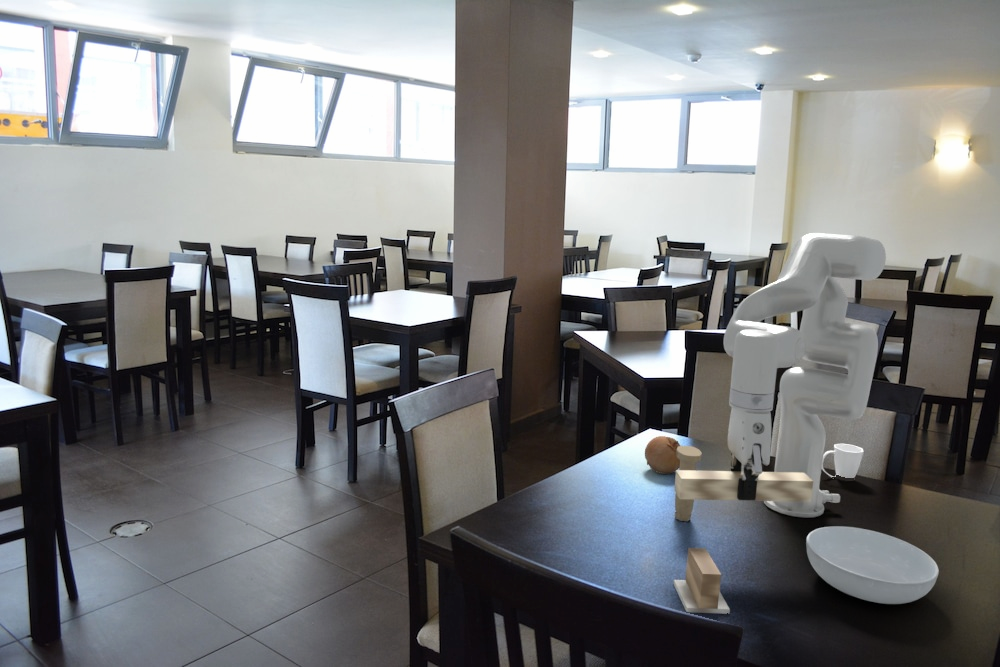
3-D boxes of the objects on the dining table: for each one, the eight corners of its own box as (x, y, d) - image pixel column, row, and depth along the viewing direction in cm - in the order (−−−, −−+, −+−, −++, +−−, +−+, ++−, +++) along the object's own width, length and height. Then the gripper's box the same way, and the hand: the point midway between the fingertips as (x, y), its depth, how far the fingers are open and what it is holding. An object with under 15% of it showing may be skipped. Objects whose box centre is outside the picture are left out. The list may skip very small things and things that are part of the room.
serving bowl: (873, 631, 118) (879, 591, 117) (776, 569, 137) (781, 534, 136) (961, 607, 126) (967, 570, 125) (858, 552, 145) (863, 519, 144)
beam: (802, 492, 139) (804, 472, 139) (810, 501, 136) (813, 481, 135) (674, 490, 139) (675, 470, 138) (679, 499, 135) (681, 478, 134)
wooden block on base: (713, 585, 130) (717, 549, 128) (729, 613, 121) (733, 575, 120) (673, 583, 130) (676, 547, 128) (686, 612, 121) (690, 573, 119)
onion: (676, 486, 183) (696, 456, 178) (643, 477, 181) (662, 447, 176) (666, 460, 191) (684, 431, 186) (633, 452, 189) (652, 422, 184)
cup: (865, 484, 182) (870, 453, 180) (825, 483, 181) (829, 451, 180) (851, 474, 189) (855, 443, 187) (812, 472, 188) (816, 442, 187)
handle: (690, 513, 160) (697, 446, 157) (697, 526, 154) (704, 456, 151) (668, 511, 160) (674, 445, 157) (674, 524, 154) (680, 455, 151)
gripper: (790, 413, 125) (779, 514, 129) (756, 386, 142) (747, 476, 146) (745, 412, 125) (735, 513, 129) (716, 385, 142) (708, 476, 145)
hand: (741, 493), depth 137 cm, fingers closed on beam, 4 cm apart
